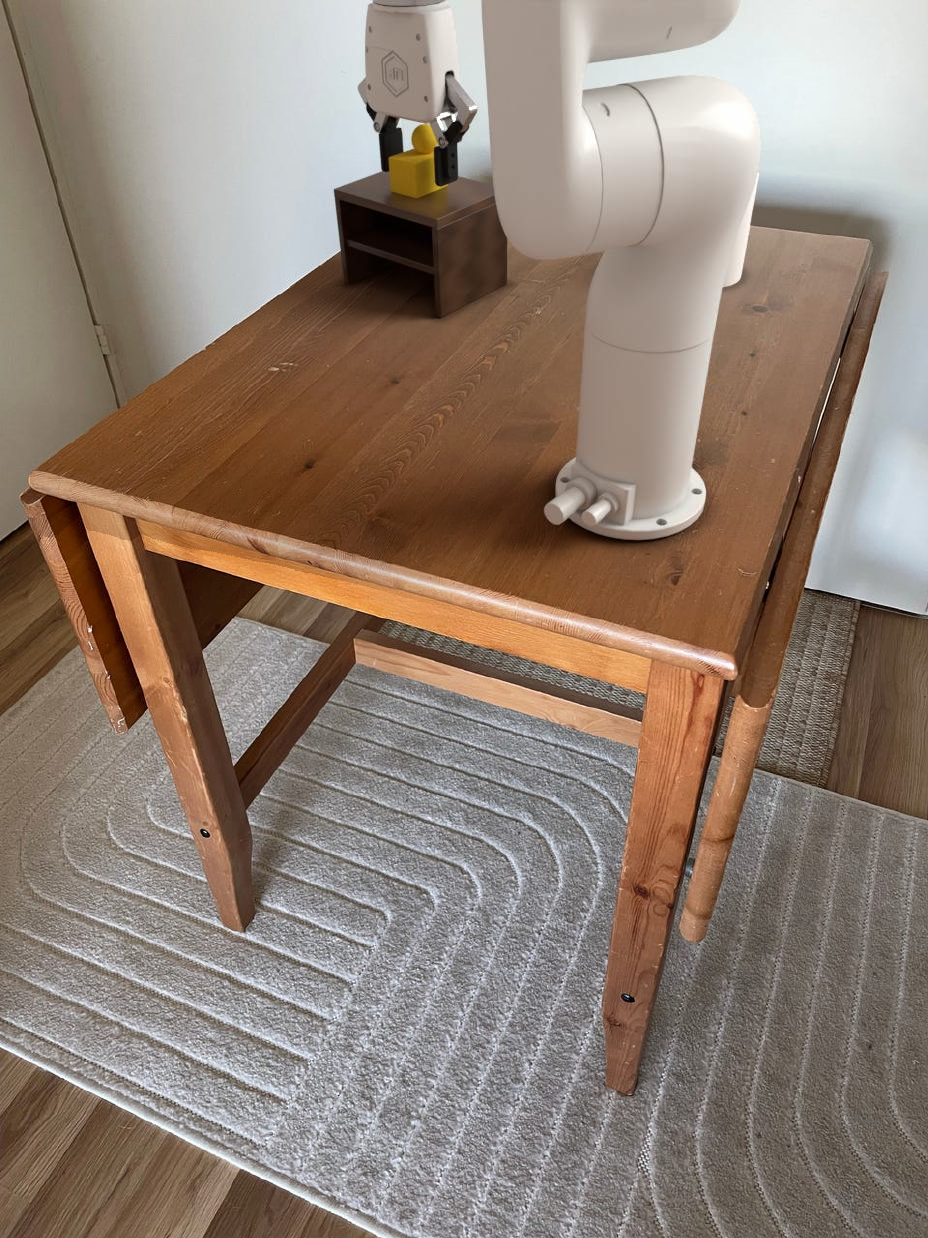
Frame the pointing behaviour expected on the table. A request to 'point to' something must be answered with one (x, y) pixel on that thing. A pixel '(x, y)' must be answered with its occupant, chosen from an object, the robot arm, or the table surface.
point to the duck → (415, 165)
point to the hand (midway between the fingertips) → (419, 174)
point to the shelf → (424, 236)
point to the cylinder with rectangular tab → (740, 245)
